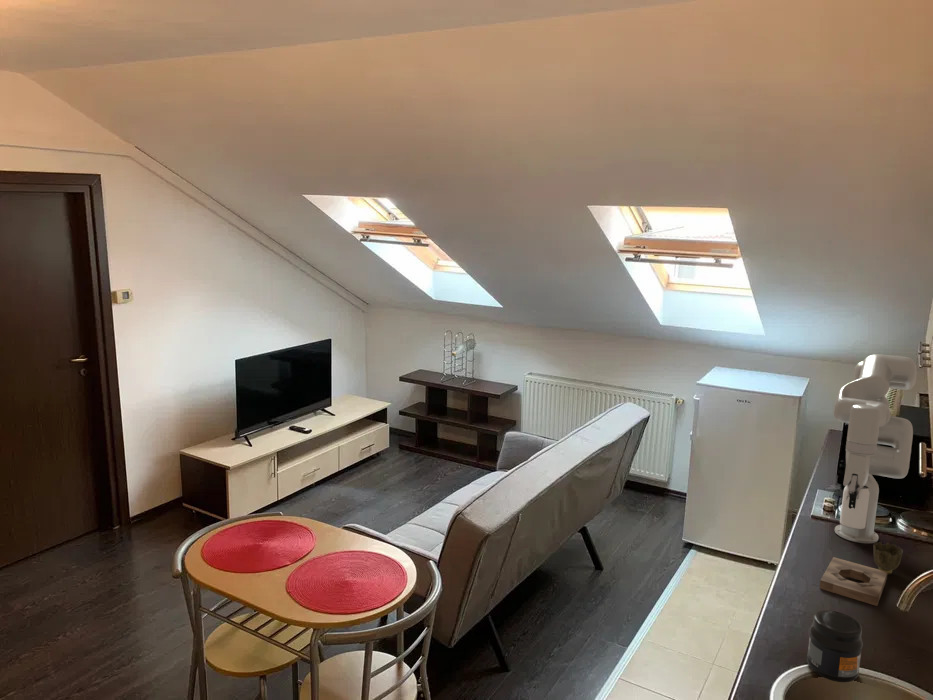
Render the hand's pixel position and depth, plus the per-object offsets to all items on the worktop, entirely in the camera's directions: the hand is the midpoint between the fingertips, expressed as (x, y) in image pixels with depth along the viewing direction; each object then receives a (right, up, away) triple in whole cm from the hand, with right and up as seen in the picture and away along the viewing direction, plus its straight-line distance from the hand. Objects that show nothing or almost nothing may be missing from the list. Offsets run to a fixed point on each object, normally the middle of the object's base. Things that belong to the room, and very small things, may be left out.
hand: (853, 507), depth 193 cm
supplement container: (-29, -27, -42) cm, 58 cm away
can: (-1, -6, 0) cm, 6 cm away
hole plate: (-2, -21, -4) cm, 21 cm away
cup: (+11, -20, +3) cm, 23 cm away
